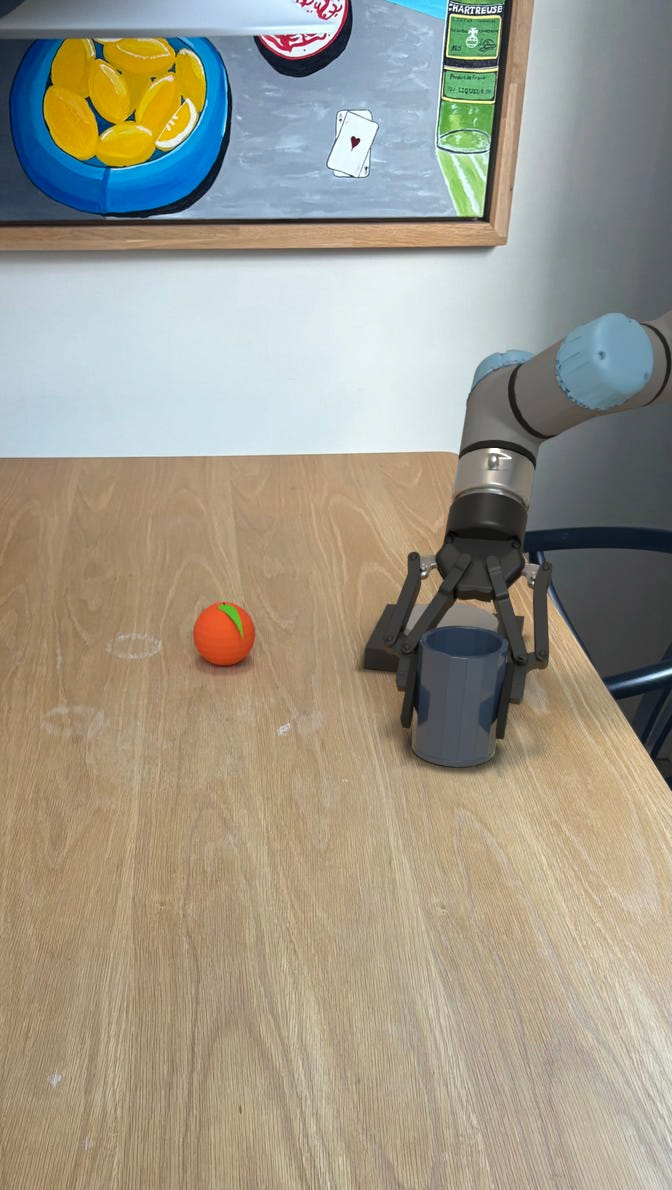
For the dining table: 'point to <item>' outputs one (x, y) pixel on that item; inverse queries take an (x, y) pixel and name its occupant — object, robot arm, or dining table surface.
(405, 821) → the dining table surface
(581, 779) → the dining table surface
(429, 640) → the cup
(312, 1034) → the dining table surface
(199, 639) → the clementine
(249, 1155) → the dining table surface
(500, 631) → the scale
